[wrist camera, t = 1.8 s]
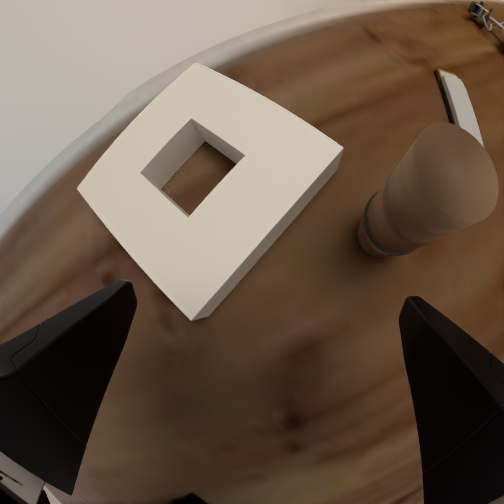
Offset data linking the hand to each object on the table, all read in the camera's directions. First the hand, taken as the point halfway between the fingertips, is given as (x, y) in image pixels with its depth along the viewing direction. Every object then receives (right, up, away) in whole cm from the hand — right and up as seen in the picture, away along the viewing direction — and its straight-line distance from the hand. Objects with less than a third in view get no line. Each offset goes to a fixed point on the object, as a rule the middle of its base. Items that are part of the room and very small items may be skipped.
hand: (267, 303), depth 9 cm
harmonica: (+21, +15, +13) cm, 29 cm away
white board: (-5, +8, +16) cm, 18 cm away
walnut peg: (+10, +3, +13) cm, 16 cm away
